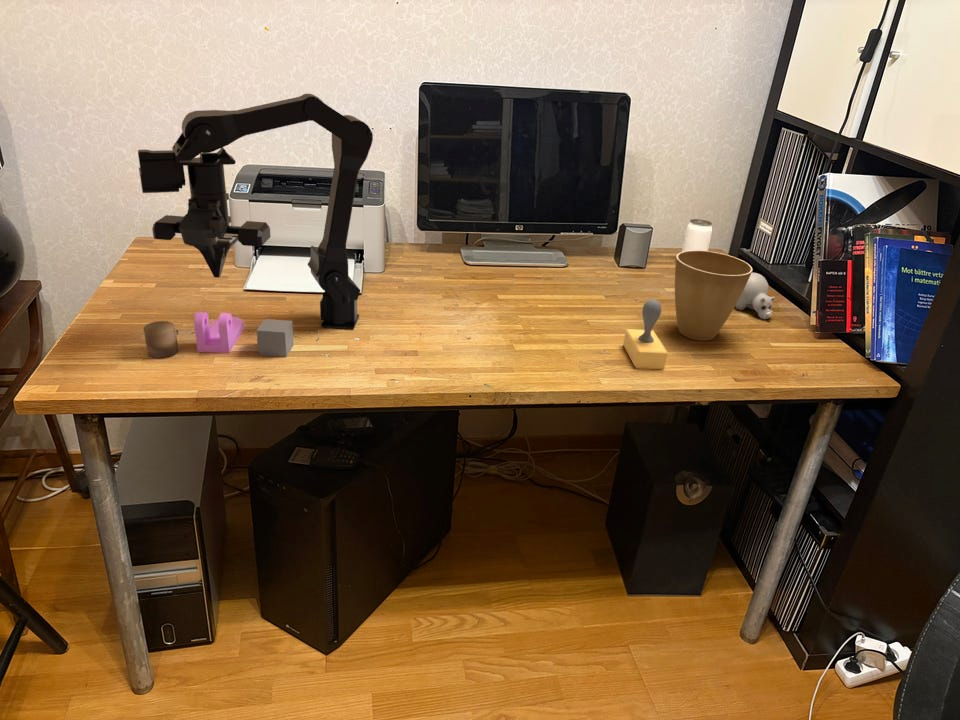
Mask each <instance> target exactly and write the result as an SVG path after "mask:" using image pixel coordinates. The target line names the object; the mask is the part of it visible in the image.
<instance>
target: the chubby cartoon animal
mask: <svg viewBox="0 0 960 720" xmlns="http://www.w3.org/2000/svg"><path fill="white" fill-rule="evenodd" d="M768 293H769V283H768V281H767V279H766V278H765V276H763V275H762V274H760V273H757V272H752V273H751V275H750V277H749V279H748V282H747V284H746V286H745V288H744V290H743V292H742V294H741V296H740V298H739V300H738V302H737V304H736V306H735V307H734V308H736V309H737V310H740V311H743V310H744V309H746V308H748V309H752V310H755V311H756V312H757V315H758V317H759V318H760V319H762V320H767V319H770V318H771V316H772V314H773V310H772V306H773V303H774V300H775V299H776V296H769V295H768Z"/></svg>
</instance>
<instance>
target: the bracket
mask: <svg viewBox="0 0 960 720" xmlns="http://www.w3.org/2000/svg"><path fill="white" fill-rule="evenodd" d="M193 321H194V322H193V325H194V326H193V327H194V334H195V342H196V349H197V350H196V351H197V352H198V353H219V354H230V353H231V351H232V349H233V348H234V346H235V344H236V343H237V341H238V339H239V337H240V336H241V334H242V332H243V331H244V329H245V325H244V320H243V319H242V318H241V317H236V316H233V315H232V313H230V312H220V315H219V317H218V318H217V319H215V320H213V322H212V323H211V324H210V318H209V314H208V313H207V312H206V311H196V313H194V320H193Z"/></svg>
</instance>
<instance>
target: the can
mask: <svg viewBox="0 0 960 720" xmlns="http://www.w3.org/2000/svg"><path fill="white" fill-rule="evenodd" d="M712 226H713V223H712V222H711V221H709V220H706V219H699V218H691V219H690V220H689V223H688V224H687V226H686V230H685V235H684V240H683V245H682V248H681V249H682V250H681V252H683V251H694V250H700V251H709V247H710V241H711V240H712V239H711V238H712V234H713V227H712Z"/></svg>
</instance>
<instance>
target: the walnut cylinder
mask: <svg viewBox="0 0 960 720" xmlns="http://www.w3.org/2000/svg"><path fill="white" fill-rule="evenodd" d="M176 331H177V330H176V326H175V324H174V322H171V321H167V320H166V321H165V320H159V321H157V320H156V321H153V322H149V323H147V324H146V325H144V326H143V334H144V340H145V345H146V351H147V356H148V357H149V358H151V359H155V360H165V359H169V358H173V357H174V356H176V355H177V354H179V346H178V340H177V333H176Z"/></svg>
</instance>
